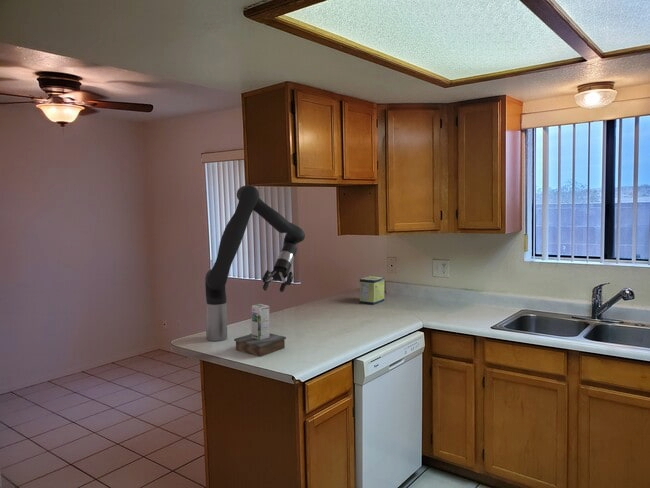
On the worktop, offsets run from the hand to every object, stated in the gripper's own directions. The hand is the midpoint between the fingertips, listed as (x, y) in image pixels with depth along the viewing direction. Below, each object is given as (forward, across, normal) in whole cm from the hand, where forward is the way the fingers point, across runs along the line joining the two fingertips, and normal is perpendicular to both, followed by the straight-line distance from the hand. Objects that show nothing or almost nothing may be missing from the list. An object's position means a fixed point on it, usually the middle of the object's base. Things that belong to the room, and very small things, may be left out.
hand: (272, 290), depth 222 cm
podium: (+25, 0, +9) cm, 27 cm away
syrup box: (+22, 0, +6) cm, 22 cm away
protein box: (-55, +15, +90) cm, 106 cm away
